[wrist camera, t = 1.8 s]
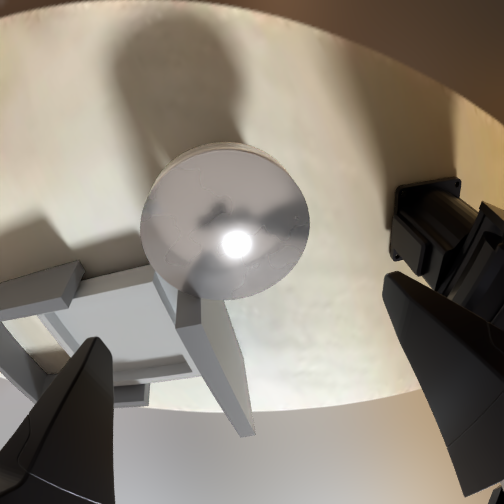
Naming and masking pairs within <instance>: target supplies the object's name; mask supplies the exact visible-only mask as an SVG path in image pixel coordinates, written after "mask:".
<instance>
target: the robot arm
mask: <svg viewBox="0 0 504 504" xmlns="http://www.w3.org/2000/svg"><path fill="white" fill-rule="evenodd" d="M455 183H456V184H455ZM460 190H461V180H460V179H459V178H457V177H450V178H444V179H437V180H431V181H425V182H419V183H413V184H407V185H402V186H399V187H398V188H397V189H396V192H395V208H394V216H393V223H392V235H391V254H390V257H391V258H392V259H393V261H400V260H404V261H405V262H406V263H407V265H408V266H409V267H410V268H411V270H412V271H413V272H414V273H415V274H416V275H417V276H418V277H419V276H422V277H423V278H424V279H425V281H426V282H427V283H428V284H429V286H430V287H431V288H432V289H433V290H432V289H430V288H429V287H427V286H425V285H423V284H421V283H419V282H418V281H416V280H414V279H412V278H410V277H408V276H407V275H405V274H403V273H401V272H399V271H394V272H391V273H387V274H386V275H385V277H384V284H383V292H382V297H383V301H384V304H385V306H386V309H387V311H388V314H389V316H390V319H391V321H392V324H393V327H394V329H395V332H396V335H397V337H398V340H399V342H400V344H401V346H402V348H403V350H404V352H405V354H406V356H407V358H408V360H409V362H410V364H411V366H412V369H413V371H414V373H415V375H416V377H417V379H418V381H419V383H420V386H421V388H422V390H423V392H424V394H425V397H426V399H427V401H428V403H429V406H430V408H431V410H432V412H433V415H434V417H435V419H436V422H437V424H438V427H439V429H440V432H441V434H442V437H443V439H444V441H445V444H446V446H447V450H448V452H449V455H450V457H451V460H452V463H453V466H454V468H455V471H456V474H457V477H458V480H459V483H460V486H461V489H462V492H463V495H464V496H465V497H467V496H470V495H472V494H475V493H477V492H479V491H482V490H484V489H486V488H488V487H490V486H493V485H495V484H497V483H499V482H500V483H501V485H499V486H498V487H497V488H495V489H494V490H493V492H492V495H491V497H490V500H489V503H488V504H504V210H502V209H500V208H498V207H495V206H493V205H491V204H488V203H486V202H484V201H482V202H481V205H480V207H479V209H480V210H479V212H477V211H476V210H475V209H474V208H472V207H471V206H470V205H468V204H467V203H466V202H464V201H463V200H462V199H460V198H459V197H460ZM403 191H404V192H403ZM402 192H403V194H402V195H401V193H402ZM113 412H114V386H113V357H112V354H111V352H110V350H109V349H108V348H107V346H106V345H105V344H104V342H103V341H102V340H101V338H99V337H97V336H95V337H89V338H87V339H86V340H85V341H84V342H83V343H82V345H81V346H80V347H79V348H78V350H77V351H76V352H75V353H74V354H73V356H72V357H71V358H70V359H69V361H68V362H67V363H66V365H65V366H64V367H63V368H62V370H61V371H60V372H59V373H58V375H57V376H56V377H55V379H54V380H53V381H52V383H51V384H50V385H49V387H48V388H47V389H46V390H45V392H44V393H43V394H42V396H41V397H40V399H39V400H38V401H37V403H36V404H35V405H34V407H33V408H32V409H31V411H30V412H29V415H27V417H26V418H25V419H24V421H23V422H22V423H21V425H20V426H19V428H18V429H17V430H16V432H15V433H14V434H13V436H12V437H11V438H10V439H9V441H8V442H7V443H6V444H5V446H4V447H3V448H2V449H1V451H0V504H115V495H114V472H113V415H114V413H113Z"/></svg>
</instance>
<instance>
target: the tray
mask: <svg viewBox="0 0 504 504" xmlns="http://www.w3.org/2000/svg"><path fill="white" fill-rule="evenodd" d="M37 316H38V318H39V319H40V320H41V322H42V323H43V324H44V326H45V327H46V328H47V329H48V331H49V332H50V333H51V335H52V336H53V337H54V338H55V340H56V341H57V342H58V343H59V344H60V346H61V347H62V348H63V349H64V350H65V351H66V353H67V354H68V355H69V356H70V357H72V356H73V354H74V353H75V352H76V351H77V350H78V348H79V347H80V346H81V345H82V343H83V342H84V341H85V340H86V339H87V338H89V337H95V336H97V337H99V338H101V340H102V341H103V342H104V344H105V345H106V346H107V348H108V349H109V350H110V352H111V354H112V357H113V386H125V385H136V384H145V383H155V382H163V381H171V380H178V379H185V378H192V377H199V376H202V377H203V379H204V381H205V382H206V384H207V386H208V387H209V389H210V391H211V392H212V394H213V396H214V397H215V399H216V400H217V402H218V404H219V405H220V407H221V408H222V410H223V411H224V413H225V414H226V416H227V418H228V419H229V421H230V422H231V424H232V425H233V427H234V428H235V430H236V431H237V433H238V434H239V436H240V437H247V436H252V435H255V428H254V422H253V416H252V409H251V403H250V397H249V390H248V384H247V377H246V371H245V364H244V358H243V355H242V352H241V349H240V347H239V344H238V341H237V338H236V335H235V332H234V330H233V327H232V324H231V321H230V318H229V315H228V312H227V309H226V306H225V303H224V300H210V299H203V298H199V297H195V296H192V295H189V294H187V293H184V292H182V291H180V290H178V289H176V288H175V287H173V286H172V285H170V284H169V283H167V282H166V281H165V280H164V279H163V278H162V277H161V276H160V275H159V274H158V273H157V272H156V271H155V270H154V268H153V267H152V266H151V264H150V265H146V266H141V267H137V268H133V269H129V270H124V271H120V272H116V273H112V274H108V275H103V276H99V277H95V278H91V279H87V280H83V281H80V283H79V285H78V288H77V290H76V292H75V294H74V297H73V299H72V302H71V304H70V306H69V309H64V310H59V311H53V312H48V313H43V314H38V315H37Z"/></svg>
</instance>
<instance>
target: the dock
mask: <svg viewBox="0 0 504 504" xmlns="http://www.w3.org/2000/svg"><path fill="white" fill-rule="evenodd" d="M84 272H85V270H84V268H83V267H82V265H81V263H80V261H79V260H78V261H75V262H71V263H67V264H64V265H60V266H57V267H53V268H50V269H46V270H43V271H39V272H36V273H33V274H29V275H26V276H23V277H19V278H16V279H13V280H9V281H6V282H3V283H0V372H1V373H2V374H3V375H4V376H5V377H6V378H7V379H8V380H9V381H10V382H11V383H12V384H13V385H14V386H15V387H17V388H18V389H19V390H20V391H21V392H22V393H23V394H24V395H25V396H26V397H28V398H29V399H30V400H31V401H32V402H33V403H34V404H36V403H37V401H38V400H39V399H40V397H41V396H42V394H43V393H44V392H45V390H46V389H47V388H48V387H49V385H50V384H51V383H52V381H53V380H54V379H55V377H56V376H57V375H58V374H50V375H47V374H46V373H45V372H44V371H43V370H42V369H41V368H40V367H39V366H38V365H37V364H36V363H35V361H34V360H33V359H32V358H31V357H30V356H29V355H28V354H27V353H26V352H25V350H24V349H23V348H22V347H21V346H20V345H19V344H18V342H17V341H16V340H15V339H14V338H13V336H12V335H11V334H10V333H9V332H8V330H7V329H6V328H5V327H4V325H3V324H2V323H1V321H6V320H11V319H17V318H22V317H27V316H33V315H38V314H43V313H48V312H53V311H59V310H64V309H69V306H70V304H71V302H72V299H73V297H74V294H75V292H76V290H77V288H78V285H79V283H80V281H81V279H82V276H83V274H84ZM149 391H150V383H145V384H136V385H125V386H114V408H124V407H141V406H149Z"/></svg>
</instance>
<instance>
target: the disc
mask: <svg viewBox="0 0 504 504" xmlns="http://www.w3.org/2000/svg"><path fill="white" fill-rule="evenodd" d="M309 228H310V221H309V212H308V207H307V204H306V201H305V198H304V196H303V194H302V192H301V190H300V189H299V187H298V186H297V184H296V183H295V182H294V180H293V179H292V178H291V176H290V175H289V173H288V172H287V171H286V169H285V168H284V167H283V166H282V165H281V164H280V163H279V162H278V161H277V160H276V159H274V158H273V157H272V156H271V155H269V154H267V153H266V152H264V151H262V150H260V149H258V148H255V147H253V146H250V145H246V144H242V143H235V142H215V143H209V144H204V145H201V146H198V147H195V148H192V149H190V150H188V151H186V152H184V153H182V154H181V155H179V156H178V157H176V158H175V159H174V160H173V161H171V162H170V163H169V164H168V165H167V166H166V167H165V168H164V169H163V170H162V172H161V173H160V174H159V176H158V177H157V179H156V180H155V182H154V184H153V186H152V189H151V191H150V193H149V196H148V198H147V200H146V203H145V205H144V208H143V212H142V216H141V223H140V235H141V241H142V246H143V249H144V252H145V255H146V257H147V259H148V261H149V262H150V264H151V266H152V267H153V268H154V270H155V271H156V272H157V273H158V274H159V275H160V276H161V277H162V278H163V279H164V280H165V281H166V282H167V283H169V284H170V285H172V286H173V287H175V288H176V289H178V290H180V291H182V292H184V293H187V294H189V295H192V296H195V297H199V298H203V299H210V300H234V299H240V298H244V297H248V296H252V295H254V294H257V293H260V292H262V291H264V290H266V289H268V288H270V287H271V286H273V285H274V284H276V283H277V282H279V281H280V280H281V279H282V278H284V277H285V276H286V275H287V274H288V273H289V272H290V271H291V270H292V269H293V267H294V266H295V265H296V263H297V262H298V260H299V259H300V257H301V255H302V253H303V251H304V249H305V246H306V243H307V240H308V236H309Z"/></svg>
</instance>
